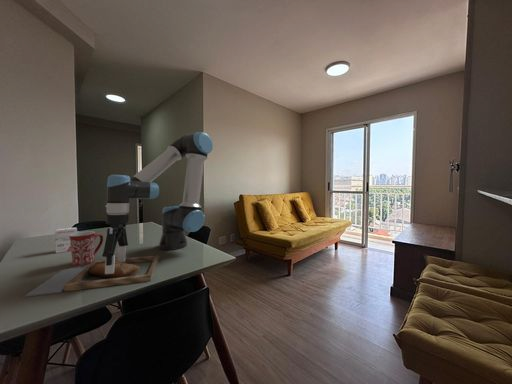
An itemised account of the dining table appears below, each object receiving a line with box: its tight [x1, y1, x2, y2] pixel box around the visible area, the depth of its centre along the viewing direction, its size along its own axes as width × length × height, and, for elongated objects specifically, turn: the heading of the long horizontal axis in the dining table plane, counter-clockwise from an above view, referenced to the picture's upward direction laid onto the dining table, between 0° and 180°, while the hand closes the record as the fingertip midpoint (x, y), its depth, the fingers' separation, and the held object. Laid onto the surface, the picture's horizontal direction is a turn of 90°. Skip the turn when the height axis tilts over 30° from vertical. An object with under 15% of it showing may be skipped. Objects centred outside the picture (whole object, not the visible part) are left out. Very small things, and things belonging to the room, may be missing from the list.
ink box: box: [54, 227, 78, 254], centre depth 109 cm, size 8×5×12 cm, turn 133°
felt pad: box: [25, 267, 86, 298], centre depth 75 cm, size 9×20×1 cm, turn 18°
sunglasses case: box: [88, 261, 141, 279], centre depth 80 cm, size 18×7×7 cm
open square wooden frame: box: [63, 254, 160, 293], centre depth 83 cm, size 26×23×2 cm
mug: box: [69, 230, 104, 267], centre depth 94 cm, size 13×9×14 cm
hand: (115, 267), depth 81 cm, fingers open, 13 cm apart
